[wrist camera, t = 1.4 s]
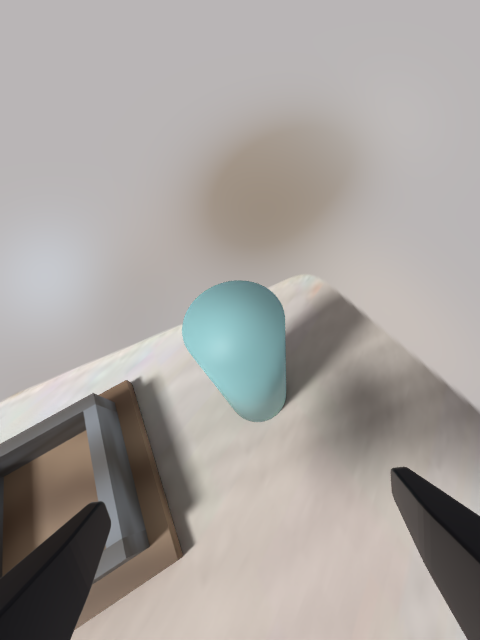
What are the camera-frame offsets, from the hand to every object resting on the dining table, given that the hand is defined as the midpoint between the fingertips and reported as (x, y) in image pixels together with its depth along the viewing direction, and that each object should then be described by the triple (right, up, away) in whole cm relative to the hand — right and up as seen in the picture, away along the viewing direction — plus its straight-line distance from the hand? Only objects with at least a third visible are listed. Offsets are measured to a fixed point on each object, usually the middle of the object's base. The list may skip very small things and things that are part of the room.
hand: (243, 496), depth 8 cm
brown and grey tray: (-13, -9, +12) cm, 20 cm away
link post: (+1, -1, +14) cm, 15 cm away
